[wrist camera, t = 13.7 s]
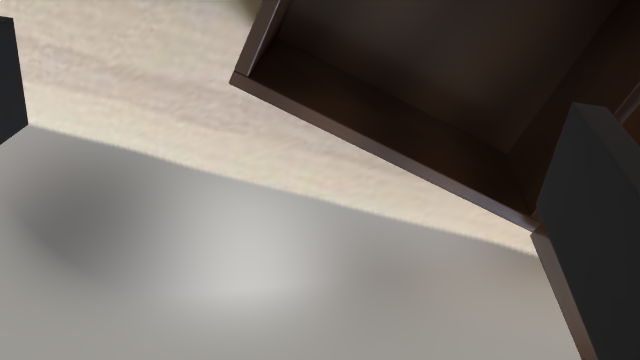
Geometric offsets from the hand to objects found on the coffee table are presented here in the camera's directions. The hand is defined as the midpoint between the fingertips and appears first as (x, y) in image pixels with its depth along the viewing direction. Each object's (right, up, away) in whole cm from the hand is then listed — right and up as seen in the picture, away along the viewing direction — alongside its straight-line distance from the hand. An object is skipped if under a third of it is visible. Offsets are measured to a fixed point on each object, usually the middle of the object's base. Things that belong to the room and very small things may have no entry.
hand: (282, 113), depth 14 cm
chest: (+9, +9, +22) cm, 25 cm away
